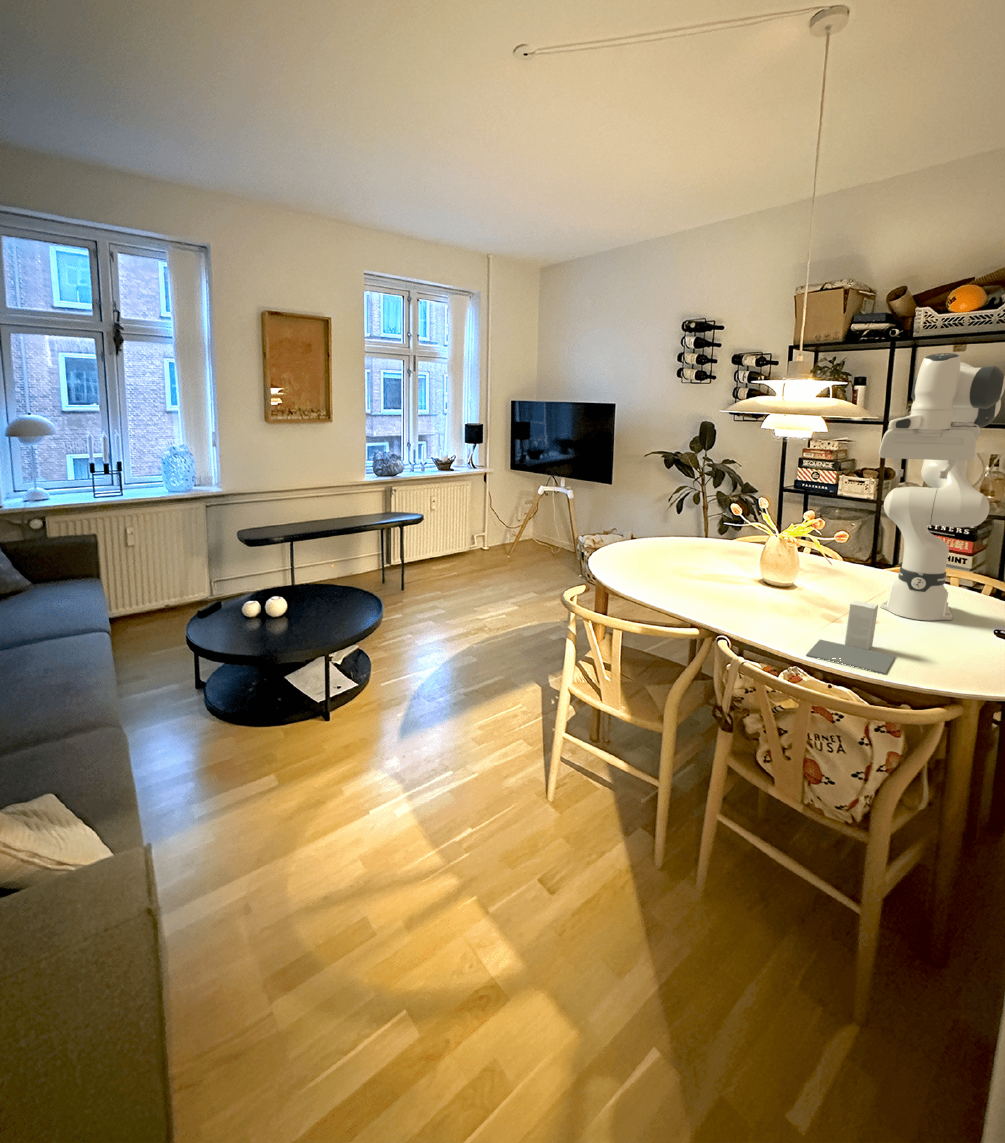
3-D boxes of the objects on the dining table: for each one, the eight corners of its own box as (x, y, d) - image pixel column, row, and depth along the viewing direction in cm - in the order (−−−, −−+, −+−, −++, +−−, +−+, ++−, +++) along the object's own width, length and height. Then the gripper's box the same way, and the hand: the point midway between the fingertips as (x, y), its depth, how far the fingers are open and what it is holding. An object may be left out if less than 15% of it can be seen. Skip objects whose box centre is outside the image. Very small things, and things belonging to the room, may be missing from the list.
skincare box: (872, 646, 168) (879, 604, 164) (868, 651, 165) (875, 608, 161) (847, 640, 172) (854, 599, 168) (843, 645, 168) (849, 603, 165)
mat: (819, 640, 172) (819, 639, 172) (894, 657, 161) (895, 655, 160) (806, 656, 162) (806, 654, 162) (885, 674, 151) (885, 673, 151)
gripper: (980, 421, 152) (969, 478, 156) (883, 420, 162) (875, 474, 166) (984, 422, 147) (972, 481, 151) (883, 421, 157) (875, 476, 160)
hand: (920, 477), depth 158 cm, fingers open, 8 cm apart
